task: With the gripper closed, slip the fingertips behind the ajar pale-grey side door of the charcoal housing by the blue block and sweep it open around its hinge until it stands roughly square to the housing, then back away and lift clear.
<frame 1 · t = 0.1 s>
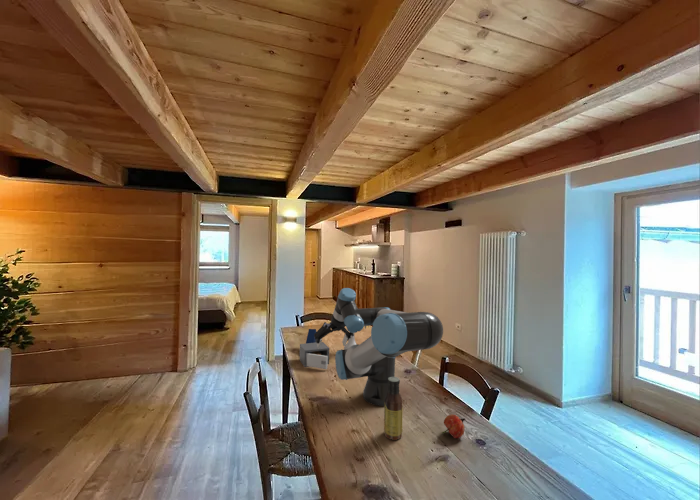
hand: (331, 345, 155), 15 cm above the table, tool tilted 35°, fingers open, 13 cm apart
sauce bottle: (392, 436, 105), on the table
blue block: (311, 350, 193), on the table
door: (316, 361, 163), point 4 cm above the table, hinge at 40.0°
housing: (313, 361, 173), on the table
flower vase: (352, 354, 189), on the table
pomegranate: (452, 436, 107), on the table
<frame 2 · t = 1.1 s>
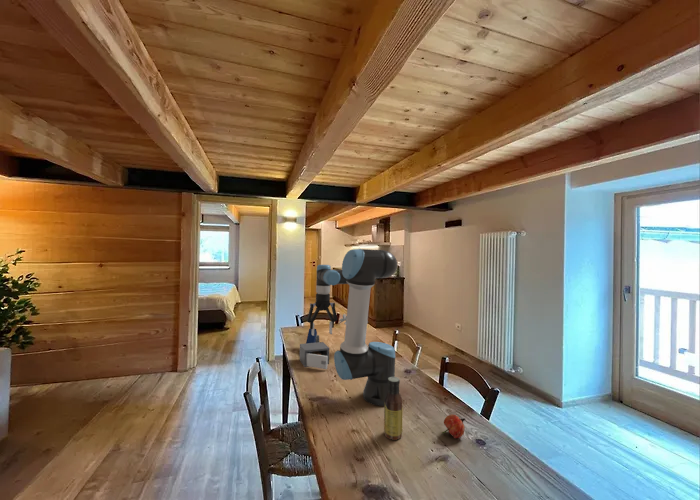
hand: (321, 334, 166), 18 cm above the table, tool pointing down, fingers open, 9 cm apart
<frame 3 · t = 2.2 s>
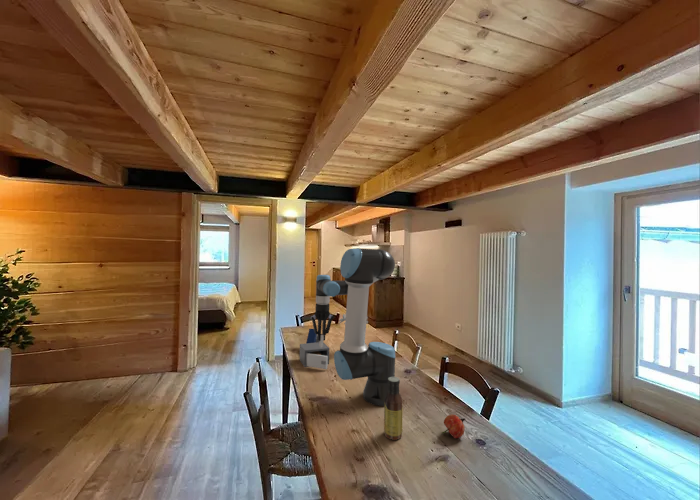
hand: (321, 346, 166), 11 cm above the table, tool pointing down, fingers closed
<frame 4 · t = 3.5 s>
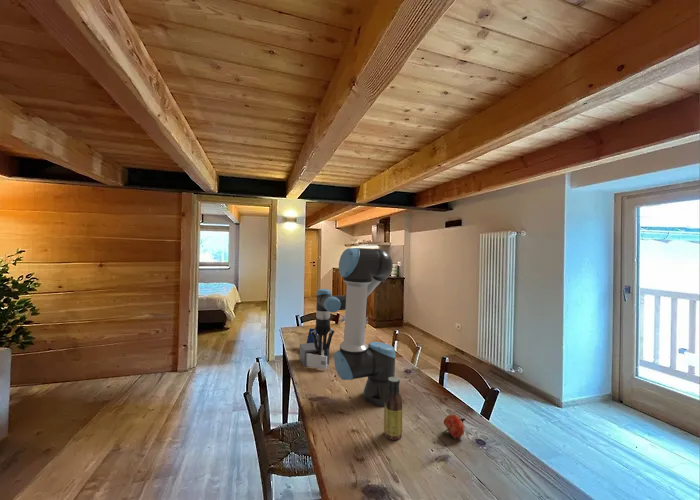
hand: (321, 361, 164), 3 cm above the table, tool pointing down, fingers closed
door: (316, 361, 162), point 4 cm above the table, hinge at 42.2°, touching gripper
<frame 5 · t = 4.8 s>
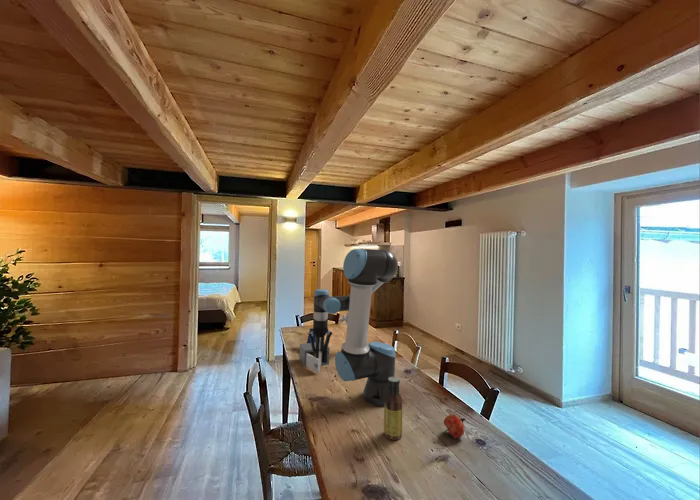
hand: (319, 364, 160), 4 cm above the table, tool pointing down, fingers closed
door: (312, 362, 160), point 4 cm above the table, hinge at 72.6°, touching gripper
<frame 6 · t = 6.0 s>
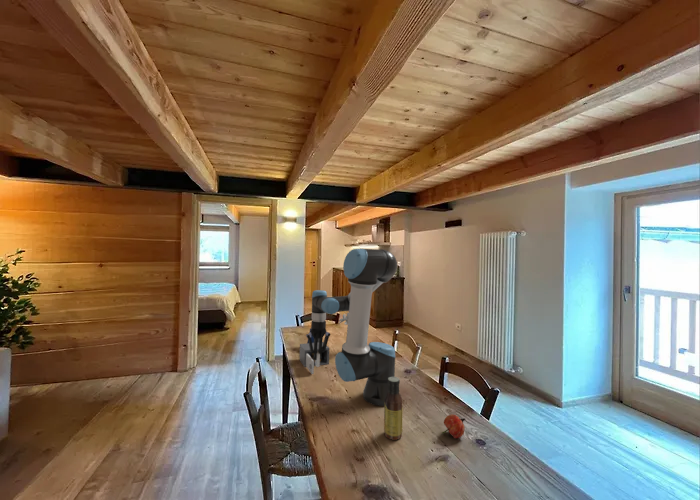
hand: (317, 365, 158), 3 cm above the table, tool pointing down, fingers closed
door: (309, 363, 159), point 4 cm above the table, hinge at 89.4°
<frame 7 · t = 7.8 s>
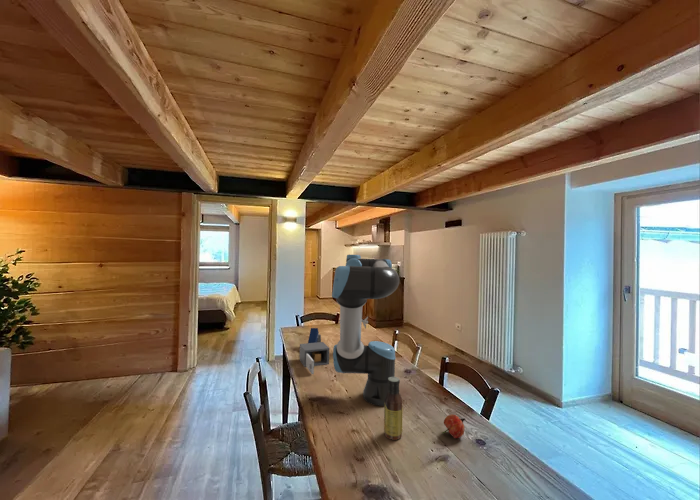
hand: (351, 329, 158), 23 cm above the table, tool pointing down, fingers closed
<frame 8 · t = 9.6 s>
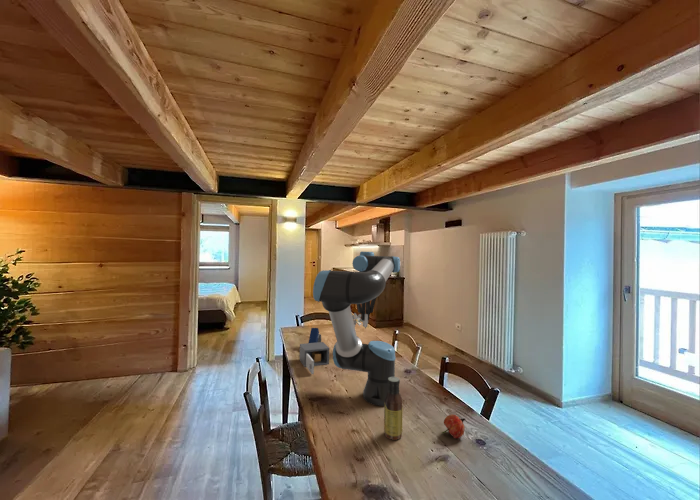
hand: (365, 326, 159), 24 cm above the table, tool pointing down, fingers closed
at the end: door at +89° (first picture: +40°) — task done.
